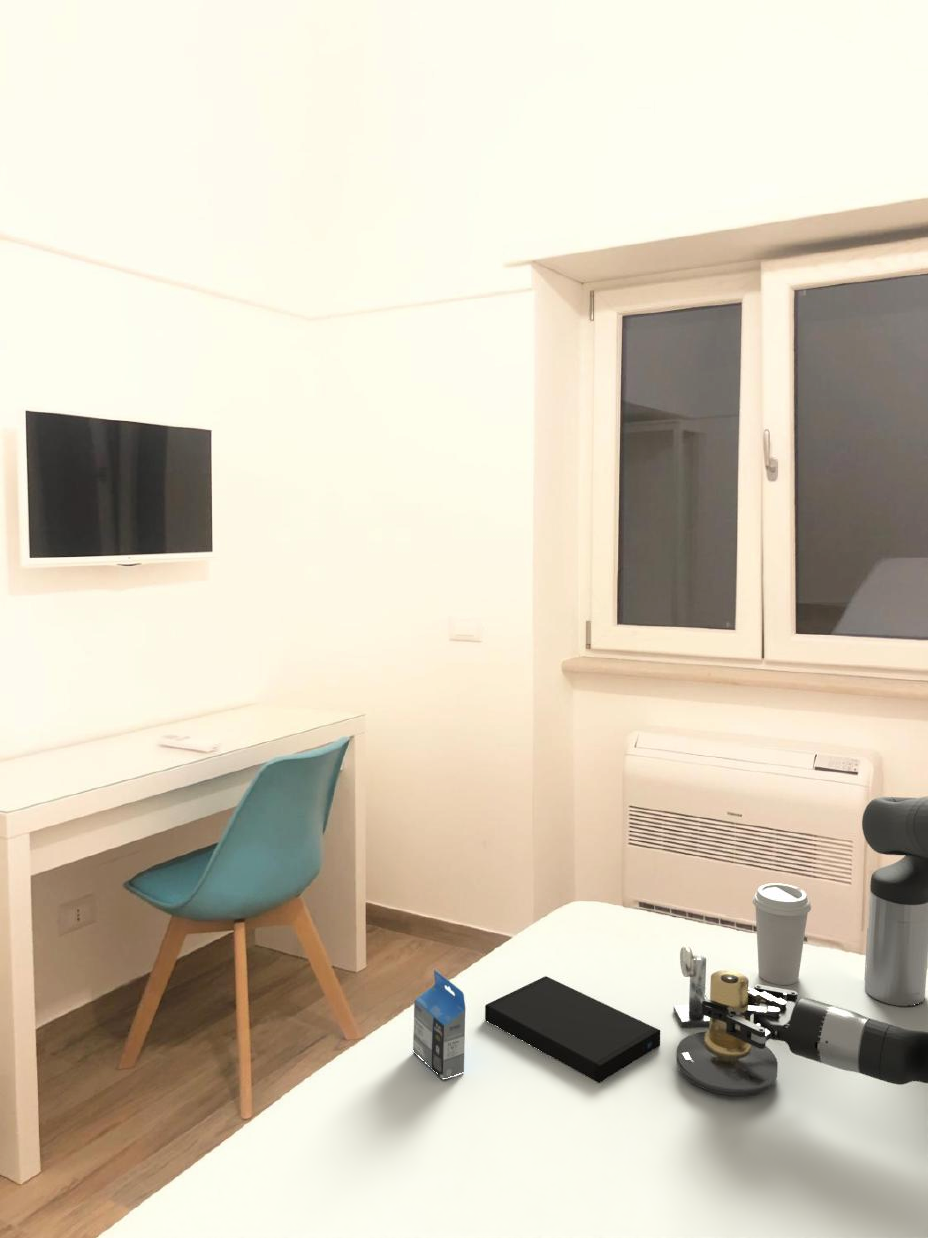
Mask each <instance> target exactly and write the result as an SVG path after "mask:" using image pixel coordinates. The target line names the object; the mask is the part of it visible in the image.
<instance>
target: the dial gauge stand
mask: <svg viewBox="0 0 928 1238" xmlns="http://www.w3.org/2000/svg"><path fill="white" fill-rule="evenodd" d="M679 963H680V969H681V973H682V976H683V977H684V978H689V989H688V991H689V998H688V1004H673V1013H674V1015H675V1018H676V1019H677V1021H678V1023H679V1025H680V1027H681V1028H682V1029H683V1028H707V1027H708V1028H709V1021H710V1017H708V1016H705V1015H703V1014H702V1002H703V1001H704V1000H705V999H708V996H707V994H706V977H707V958H706V957H705V956H703V955H700V954H698V955H697V954H695V955H694V954H693V951H692V949H691V947H690V946H686V947H685V946H683V947H681V949H680V953H679Z"/></svg>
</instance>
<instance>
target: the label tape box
mask: <svg viewBox="0 0 928 1238" xmlns="http://www.w3.org/2000/svg"><path fill="white" fill-rule="evenodd" d="M433 976H434V985H433V986H431V987H429V988H428V989H427V990H426V991H425V992H424V993H422V994H421V995H419V996H418V997H417V998H415V999H414V1001H413V1004H414V1005H413V1037H412V1038H413V1039H412V1041H413V1042H412V1051H413V1050H414V1052H415V1053H416V1054H417V1055H419V1056H420V1057H421V1058H422V1059H423V1060H424V1062H426V1063H427V1064H428V1065H429V1066H430V1067H431V1068H432V1069H433V1070H434V1071H435V1072H437V1073H438V1075H439V1076H440V1077H441V1078H448V1077H450V1076H454V1075H456V1074H459V1073H462V1072H464V1073H465V1043H466V1042H465V1039H466V1038H465V1037H466V1035H465V1034H466V1033H465V1032H466V1030H465V1029H466V1002H465V994H464V992H463V991H462V990H461V989H460V988H459V987H457V985H455V984H454V983H452V982H451V981H450V980H449V979H448V978H447V977H445V976H444V975H442V974H441V973H440V972H438V970H436V969H433ZM446 988H449V989H450V990H451V991H452V992H453V993H454V994H453V993H451V992H450V991H449V990H448V989H446ZM424 1062H423V1063H424ZM435 1072H434V1073H435ZM438 1075H437V1076H438ZM439 1076H438V1077H439ZM440 1077H439V1078H440ZM441 1078H440V1079H441Z"/></svg>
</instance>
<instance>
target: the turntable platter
mask: <svg viewBox="0 0 928 1238" xmlns="http://www.w3.org/2000/svg"><path fill="white" fill-rule="evenodd" d="M707 1031H708V1030H705V1031H704V1030H703V1031H699V1032H694V1033H692V1034H690V1035H688V1036H686V1037H684V1038H683V1039H681V1040H680V1041H679V1043H678V1045H677V1047H676V1059H675V1060H676V1067H677V1069H678V1070H679V1072H680V1073H681V1074H682V1075H681V1076H683V1077H684V1078H685V1079H687V1080H688V1081H689V1082H691V1083H692V1084H694V1085H696V1086H697V1087H700V1088H702V1089H704V1090H707V1091H709V1092H714V1093H717V1094H722V1095H727V1096H750V1095H756V1094H759V1093H762V1092H765V1091H767V1090H769V1089H770V1088H771V1087H772V1086H773V1085H774V1084H775V1082H776V1081H777V1078H778V1069H779V1068H778V1065H779V1064H778V1058H777V1057H776V1054H775V1053H774V1052H773V1051H772V1050H771V1049H770V1048H769V1047H768V1046H766V1045H765V1048H764V1049H759V1048H757V1047H755V1046H753V1045H751V1051H750V1054H749V1055H747V1056H746V1057H744V1058H740V1059H726V1058H721V1057H718V1056H715V1055H713V1054H712V1053H710V1052H709V1051H708V1050H707V1049H706V1048H705V1033H706V1032H707Z"/></svg>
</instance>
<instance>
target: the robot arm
mask: <svg viewBox="0 0 928 1238" xmlns="http://www.w3.org/2000/svg"><path fill="white" fill-rule="evenodd" d="M861 827H862V833H863V837H864V839H865V841H866V843H867V845H868V846H869V847H870V848H871V849H872V850H873V851H874V852H875V853H878V854H880V855H886V856H903V857H902V858H901V859H899V860H898V861H896V862H894V863H892V864H889V865H886V866H883V867H880V868H878V869H876V870H875V871H874V872H873V873H871V874H872V875H871V877H870V885H869V887H870V890H869V902H868V903H869V905H868V907H869V909H868V911H869V912H868V924H867V925H868V926H867V930H866V946H865V947H866V949H865V964H864V965H865V966H864V990H865V992H866V993H867V994H868V995H869V996H870V997H872V998H873V999H875V1000H878V1001H879V1002H881V1003H885V1004H888V1005H892V1006H898V1007H908V1006H907V1005H914V1004H918V1003H920V1002H922V1003H923V1002H924V1001H925V999H926V987H927V986H926V984H927V973H928V972H927V971H928V796H922V797H901V796H900V797H896V796H895V797H894V796H880V797H875V798H874V799H872V800H871V801H869V802H868V804H867V806H865V810H864V811H863V814H862V819H861ZM920 1004H921V1003H920ZM918 1005H919V1004H918ZM914 1006H915V1005H914ZM702 1014H703V1015H705V1016H708V1017H711V1018H714V1019H717V1020H720V1021H723V1022H725V1023H726V1033H727V1034H729V1035H732V1036H734V1037H736V1038H738V1039H740V1040H742V1041H744V1042H746V1043H749V1044H751V1045H753V1046H755V1047H757V1048H759V1049H764V1048H765V1046H766V1042H767V1041H769V1040H772V1041H781V1042H785V1043H786V1044H787V1046H788V1048H789V1050H790V1052H791V1054H794V1055H796V1056H799V1057H802V1058H804V1059H808V1060H812V1061H814V1062H817V1063H820V1064H824V1065H827V1066H830V1067H833V1068H836V1069H839V1070H842V1071H848V1072H854V1073H858V1074H862V1075H865V1076H868V1077H871V1078H873V1079H877V1080H879V1081H882V1082H886V1083H889V1084H893V1085H901V1086H902V1085H906V1084H908V1083H912V1082H918V1083H919V1082H920V1083H923V1084H928V1031H922V1030H910V1029H906V1028H902V1027H899V1026H897V1025H893V1024H889V1023H886V1022H883V1021H879V1020H876V1019H872V1018H870V1017H868V1016H864V1015H862V1014H860V1013H858V1012H856V1011H852V1010H850V1009H846V1008H843V1007H839V1006H835V1005H832V1004H829V1003H825V1002H822V1001H819V1000H815V999H811V998H807V997H800V998H799V999H798V992H797V991H795V990H790V989H786V988H781V987H780V988H779V987H774V986H769V985H763V984H754V988H751V987H748V1006H746V1007H745V1008H736V1007H729V1006H728V1005H725V1004H721V1003H718V1002H715V1001H712V1000H710V998H709V999H705V1000H704V1001H703V1002H702ZM736 1015H741V1016H744V1017H745V1019H743V1018H741V1017H739V1016H736ZM752 1015H753V1022H751V1016H752ZM735 1028H739V1029H740V1031H739V1030H737V1029H735Z"/></svg>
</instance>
